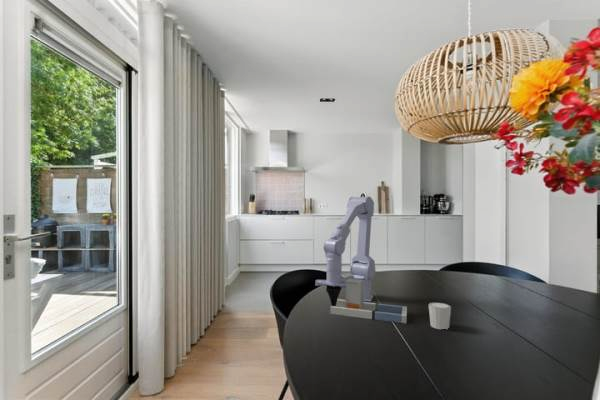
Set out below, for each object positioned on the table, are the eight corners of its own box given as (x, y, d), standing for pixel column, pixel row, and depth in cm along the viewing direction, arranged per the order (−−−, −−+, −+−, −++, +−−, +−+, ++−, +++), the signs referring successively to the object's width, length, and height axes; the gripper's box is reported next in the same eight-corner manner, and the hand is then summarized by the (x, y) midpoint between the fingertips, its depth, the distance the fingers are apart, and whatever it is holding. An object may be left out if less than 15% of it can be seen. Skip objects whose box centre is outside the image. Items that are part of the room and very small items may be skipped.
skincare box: (345, 312, 117) (345, 280, 117) (348, 309, 121) (348, 278, 121) (360, 315, 114) (361, 282, 115) (364, 311, 118) (364, 279, 118)
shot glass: (433, 321, 109) (433, 300, 109) (454, 326, 104) (454, 305, 104) (425, 326, 104) (425, 305, 104) (446, 332, 99) (446, 309, 99)
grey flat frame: (337, 305, 125) (337, 299, 125) (406, 313, 116) (406, 306, 116) (330, 313, 115) (330, 307, 115) (406, 323, 106) (406, 316, 106)
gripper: (313, 270, 119) (312, 306, 119) (350, 273, 114) (350, 311, 114) (318, 267, 126) (318, 301, 126) (354, 270, 121) (354, 305, 121)
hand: (333, 305), depth 120 cm, fingers closed
